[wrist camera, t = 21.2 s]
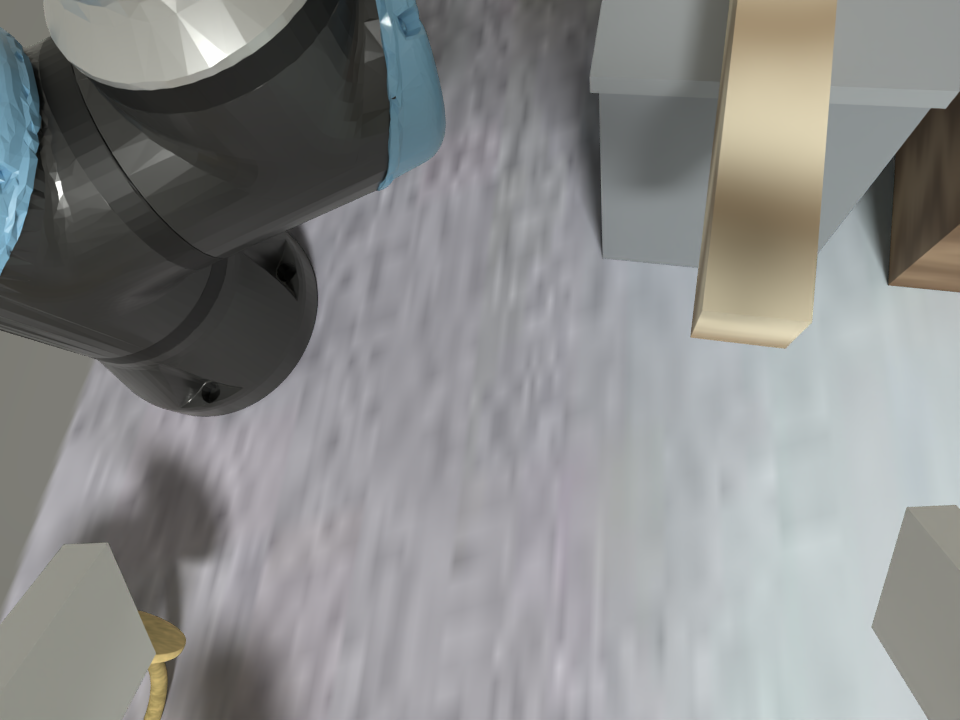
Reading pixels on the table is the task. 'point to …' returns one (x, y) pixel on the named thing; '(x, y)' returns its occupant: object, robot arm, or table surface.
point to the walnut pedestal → (928, 204)
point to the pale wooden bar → (766, 174)
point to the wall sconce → (160, 659)
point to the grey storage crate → (694, 98)
